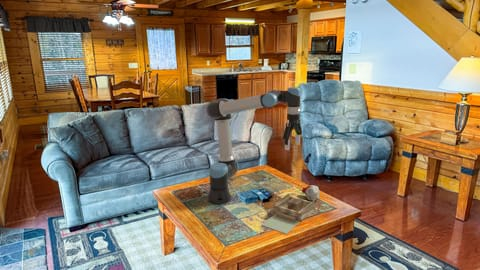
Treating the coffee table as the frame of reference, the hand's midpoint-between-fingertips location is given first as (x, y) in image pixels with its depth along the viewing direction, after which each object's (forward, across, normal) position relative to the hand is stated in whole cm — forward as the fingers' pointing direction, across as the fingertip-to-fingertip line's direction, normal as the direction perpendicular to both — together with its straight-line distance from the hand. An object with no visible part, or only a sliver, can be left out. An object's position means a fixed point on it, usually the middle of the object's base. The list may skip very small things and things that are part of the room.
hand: (292, 147), depth 199 cm
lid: (+37, -27, -8) cm, 47 cm away
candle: (+37, +13, -8) cm, 40 cm away
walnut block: (+36, -11, -8) cm, 38 cm away
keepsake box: (+37, -10, -8) cm, 39 cm away
